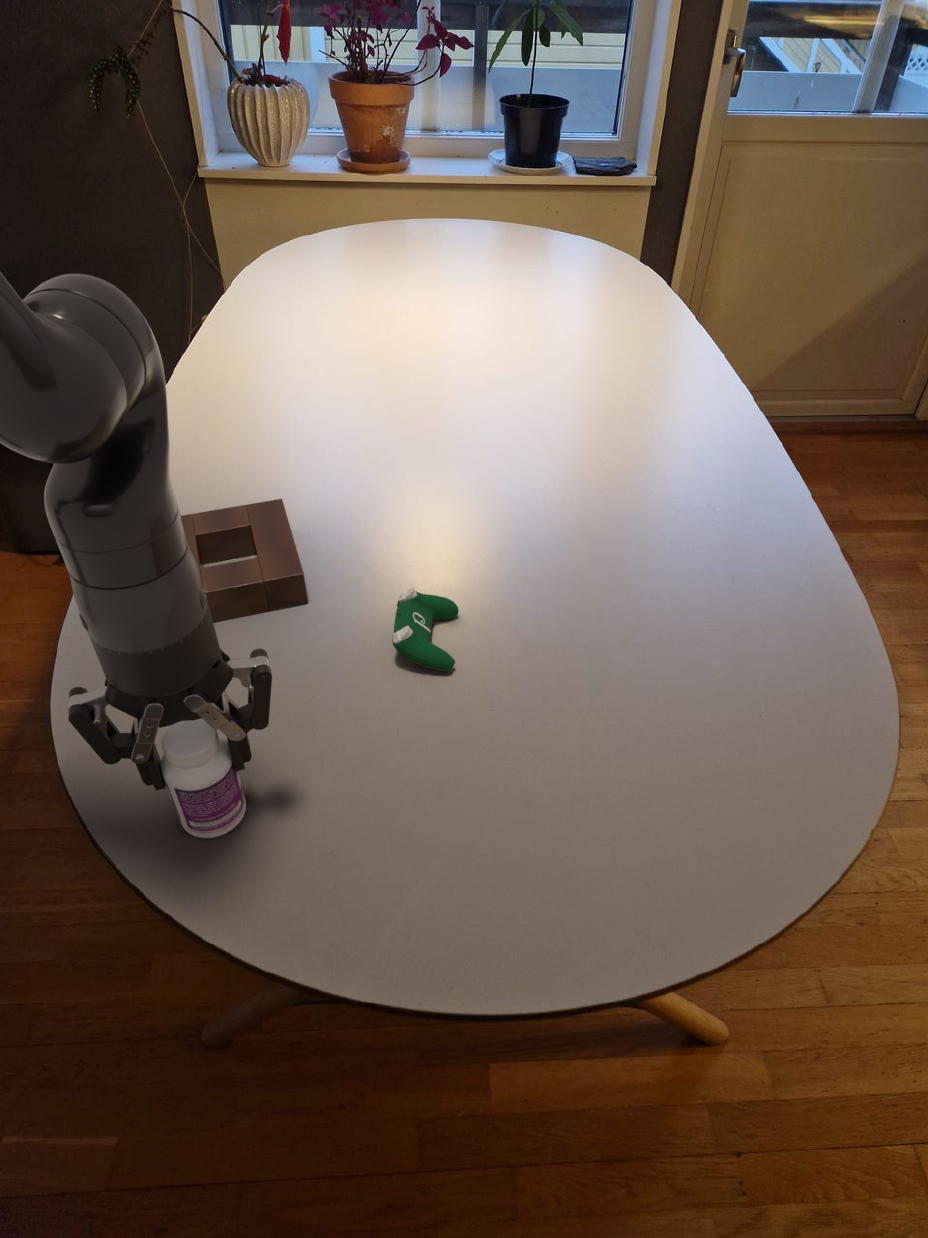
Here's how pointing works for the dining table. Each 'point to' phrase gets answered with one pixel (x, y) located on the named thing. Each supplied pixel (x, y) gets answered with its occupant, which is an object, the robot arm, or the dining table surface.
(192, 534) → the holder
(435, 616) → the gaming controller
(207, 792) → the pill bottle
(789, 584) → the dining table surface
